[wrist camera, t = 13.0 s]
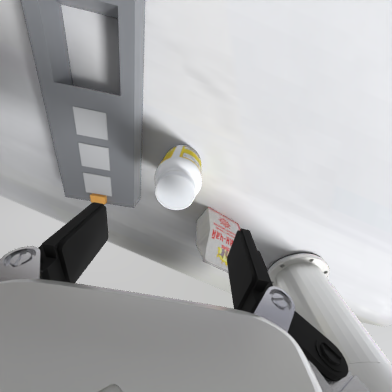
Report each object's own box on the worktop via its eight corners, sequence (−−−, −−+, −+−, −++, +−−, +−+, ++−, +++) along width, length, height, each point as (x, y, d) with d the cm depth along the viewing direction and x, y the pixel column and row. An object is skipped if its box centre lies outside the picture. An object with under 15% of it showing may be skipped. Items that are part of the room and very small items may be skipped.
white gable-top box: (226, 236, 31) (236, 287, 23) (196, 220, 30) (195, 268, 21) (238, 224, 30) (254, 272, 21) (208, 206, 28) (212, 252, 19)
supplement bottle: (167, 180, 26) (151, 216, 17) (162, 145, 23) (141, 167, 15) (201, 179, 26) (203, 215, 17) (200, 143, 23) (201, 165, 15)
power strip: (140, 198, 28) (132, 210, 24) (78, 187, 27) (62, 198, 24) (145, -10, 16) (132, -39, 13) (38, -38, 15) (-3, -75, 12)
